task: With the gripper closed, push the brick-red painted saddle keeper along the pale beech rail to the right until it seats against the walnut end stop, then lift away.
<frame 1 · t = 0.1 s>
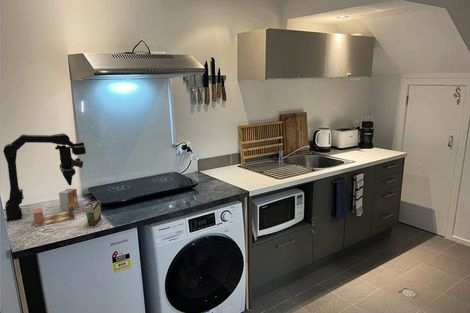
hand: (69, 183, 193), 15 cm above the worktop, fingers open, 9 cm apart
food container: (92, 223, 174), on the worktop
small box: (70, 208, 196), on the worktop
keeper: (38, 215, 174), point 4 cm above the worktop, slide at 0.0 cm
rail: (54, 220, 179), on the worktop
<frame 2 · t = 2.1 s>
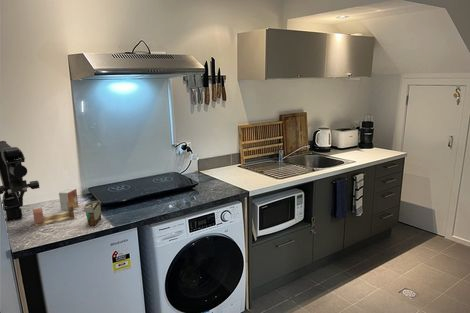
hand: (19, 204, 169), 12 cm above the worktop, fingers closed
nothing on the worktop moved.
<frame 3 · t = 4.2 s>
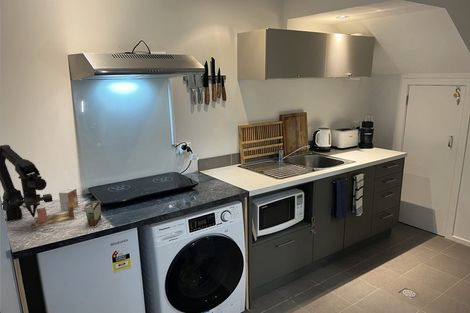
hand: (33, 216, 173), 4 cm above the worktop, fingers closed
keeper: (42, 215, 175), point 4 cm above the worktop, slide at 1.7 cm, touching gripper
everything else where it was.
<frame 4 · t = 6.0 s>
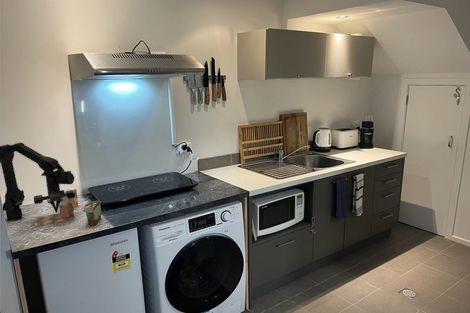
hand: (56, 212, 178), 4 cm above the worktop, fingers closed
keeper: (64, 210, 180), point 4 cm above the worktop, slide at 12.0 cm, touching gripper, rail
everything else where it was.
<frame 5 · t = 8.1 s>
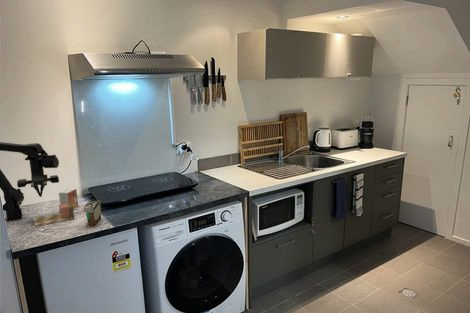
hand: (40, 196, 180), 12 cm above the worktop, fingers closed
keeper: (64, 210, 180), point 4 cm above the worktop, slide at 12.0 cm, touching rail
everything else where it was.
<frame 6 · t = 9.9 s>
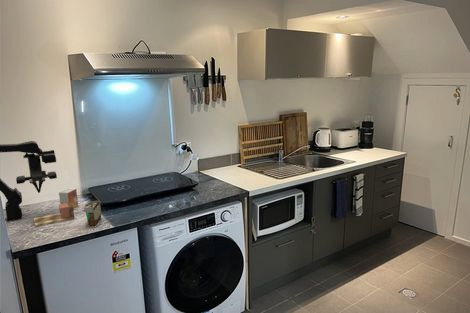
hand: (39, 192, 186), 12 cm above the worktop, fingers closed
nothing on the worktop moved.
at the end: keeper slide at 12.0 cm; the gripper is holding nothing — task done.
